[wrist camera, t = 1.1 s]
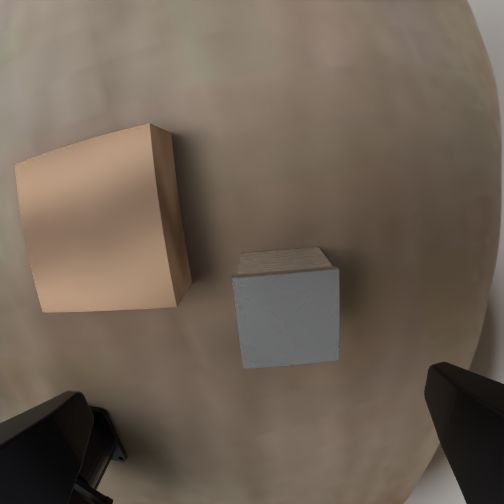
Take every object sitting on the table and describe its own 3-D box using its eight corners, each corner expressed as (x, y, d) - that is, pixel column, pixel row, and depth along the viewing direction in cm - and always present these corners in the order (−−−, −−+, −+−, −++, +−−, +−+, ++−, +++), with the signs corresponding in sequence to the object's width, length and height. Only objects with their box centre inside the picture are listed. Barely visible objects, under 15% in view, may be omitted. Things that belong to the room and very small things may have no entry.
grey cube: (321, 317, 19) (338, 360, 14) (248, 323, 20) (243, 368, 15) (319, 244, 18) (339, 269, 13) (240, 251, 19) (231, 278, 14)
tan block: (193, 281, 19) (176, 306, 16) (74, 291, 20) (43, 312, 16) (172, 133, 17) (149, 123, 14) (52, 164, 18) (14, 164, 14)
